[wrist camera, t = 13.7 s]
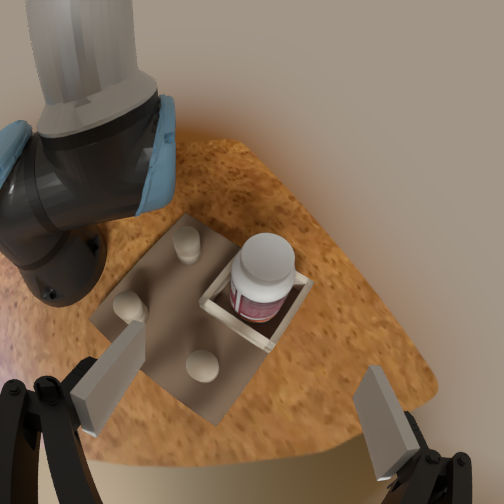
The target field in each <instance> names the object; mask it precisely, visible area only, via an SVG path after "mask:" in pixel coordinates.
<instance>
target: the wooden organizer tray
mask: <svg viewBox="0 0 504 504" xmlns="http://www.w3.org/2000/svg"><path fill="white" fill-rule="evenodd" d="M242 247H243V246H242ZM241 250H242V248H241V247H239V246H238V245H236V244H235V243H233V242H231V241H230V240H228V239H227V238H225V237H223V236H222V235H220V234H219V233H217V232H215V231H214V230H212V229H211V228H209V227H208V226H206V225H204V224H203V223H201V222H200V221H198V220H196V219H195V218H193V217H192V216H190V215H188V214H187V213H185V214H184V215H183V216H182V217H181V218H180V219H179V220H178V221H177V222H176V223H175V224H174V225H173V226H172V227H171V228H170V229H169V230H168V231H167V232H166V233H165V234H164V235H163V236H162V237H161V238H160V239H159V240H158V241H157V242H156V243H155V244H154V245H153V246H152V247H151V249H150V250H149V251H148V252H147V253H146V254H145V255H144V256H143V257H142V258H141V259H140V260H139V261H138V262H137V264H136V265H135V266H134V267H133V268H132V269H131V270H130V271H129V272H128V273H127V275H126V276H125V277H124V278H123V279H122V280H121V281H120V282H119V284H118V285H117V286H116V287H115V288H114V289H113V290H112V292H111V293H110V294H109V295H108V296H107V297H106V299H105V300H104V301H103V302H102V303H101V304H100V306H99V307H98V308H97V309H96V310H95V312H94V313H93V314H92V315H91V317H90V318H89V320H90V321H91V322H92V324H93V325H94V326H95V327H96V328H97V329H98V330H99V331H100V332H101V333H102V334H103V335H104V336H105V337H106V338H107V339H108V340H109V341H110V342H111V343H113V342H114V341H115V340H116V338H117V337H118V336H119V335H120V334H121V333H122V332H123V331H124V329H125V328H126V327H127V326H128V325H129V324H130V323H131V322H132V321H133V320H136V321H139V322H142V323H145V362H144V363H143V365H142V366H141V368H140V370H142V371H143V372H144V373H145V374H146V375H147V376H149V377H150V378H151V379H152V380H153V381H155V382H156V383H157V384H158V385H160V386H161V387H162V388H163V389H165V390H166V391H167V392H168V393H170V394H171V395H172V396H174V397H175V398H176V399H178V400H179V401H180V402H182V403H183V404H184V405H186V406H187V407H188V408H190V409H191V410H193V411H194V412H195V413H197V414H198V415H200V416H201V417H203V418H204V419H206V420H207V421H209V422H210V423H212V424H213V425H215V426H217V425H218V423H219V422H220V421H221V419H222V418H223V417H224V415H225V414H226V413H227V411H228V410H229V409H230V407H231V406H232V405H233V403H234V402H235V401H236V399H237V398H238V396H239V395H240V394H241V392H242V391H243V390H244V388H245V387H246V385H247V384H248V383H249V381H250V380H251V378H252V377H253V375H254V374H255V373H256V371H257V370H258V368H259V367H260V365H261V364H262V362H263V361H264V359H265V358H266V356H267V355H268V354H269V353H270V352H271V351H272V349H273V348H274V346H275V345H276V343H277V342H278V340H279V339H280V337H281V336H282V334H283V333H284V331H285V329H286V328H287V326H288V325H289V323H290V322H291V320H292V318H293V317H294V315H295V314H296V312H297V310H298V309H299V307H300V306H301V304H302V302H303V301H304V299H305V297H306V296H307V294H308V292H309V291H310V289H311V287H312V286H313V284H314V282H313V281H312V280H310V279H308V278H307V277H305V276H304V275H302V274H300V273H299V272H297V271H296V276H295V281H294V284H293V286H292V288H291V290H290V292H289V294H288V295H287V297H286V299H285V301H284V303H283V304H282V306H281V308H280V309H279V311H278V312H277V314H276V315H275V316H274V317H273V318H271V319H270V320H268V321H265V322H262V323H252V322H248V321H245V320H243V319H242V318H240V317H239V316H238V315H237V314H236V313H235V312H234V310H233V308H232V306H231V302H230V285H231V269H232V264H233V261H234V258H235V257H236V255H237V254H238V253H239V252H240V251H241Z"/></svg>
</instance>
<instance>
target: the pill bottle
mask: <svg viewBox="0 0 504 504" xmlns="http://www.w3.org/2000/svg"><path fill="white" fill-rule="evenodd" d="M294 262H295V255H294V251H293V249H292V247H291V245H290V244H289V243H288V242H287V241H286V240H285V239H284V238H282V237H281V236H279V235H276V234H272V233H260V234H256V235H254V236H252V237H250V238H249V239H248V240H247V241H246V242H245V244H244V245H243V247H242V250H241V251H240V252H239V253H238V254H237V255H236V257H235V258H234V261H233V264H232V269H231V285H230V302H231V306H232V308H233V310H234V312H235V313H236V314H237V315H238V316H239V317H240V318H242V319H243V320H245V321H248V322H252V323H262V322H265V321H268V320H270V319H271V318H273V317H274V316H275V315H276V314H277V312H278V311H279V309H280V308H281V306H282V304H283V303H284V301H285V299H286V297H287V295H288V294H289V292H290V290H291V288H292V286H293V284H294V281H295V276H296V270H295V265H294Z"/></svg>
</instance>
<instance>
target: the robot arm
mask: <svg viewBox="0 0 504 504" xmlns="http://www.w3.org/2000/svg"><path fill="white" fill-rule="evenodd" d="M26 10H27V19H28V27H29V33H30V39H31V45H32V50H33V55H34V59H35V64H36V68H37V73H38V77H39V80H40V84H41V88H42V91H43V95H44V98H45V102H46V103H45V107H44V109H43V111H42V114H41V116H40V118H39V120H38V123H37V130H38V132H35V133H33V132H32V127H31V125H29V124H28V123H27V122H26V121H24V120H18V121H15V122H13V123H11V124H9V125H8V126H6V127H5V128H4V129H2V130H1V131H0V252H1V253H2V254H3V255H5V256H6V257H7V258H8V259H9V260H10V261H11V262H12V263H13V264H14V265H16V266H17V267H18V269H19V271H20V273H21V275H22V277H23V279H24V281H25V283H26V285H27V286H28V288H29V290H30V291H31V293H32V294H33V295H34V296H35V297H36V298H38V299H39V300H41V301H42V302H43V303H45V304H47V305H49V306H52V307H65V306H69V305H72V304H74V303H76V302H78V301H79V300H81V299H82V298H83V297H85V296H86V295H87V294H88V293H89V292H90V291H91V290H92V288H93V287H94V286H95V284H96V283H97V281H98V279H99V278H100V276H101V273H102V271H103V268H104V265H105V260H106V245H105V241H104V238H103V236H102V234H101V232H100V231H99V229H98V227H97V226H96V225H95V224H98V223H103V222H107V221H112V220H117V219H122V218H127V217H132V216H134V217H137V216H139V215H141V214H142V213H145V212H149V211H153V210H157V209H161V208H163V207H165V206H166V205H167V204H169V203H170V202H171V200H172V199H173V196H174V192H175V180H176V143H175V127H176V122H175V103H174V99H173V98H172V97H171V96H165V95H164V94H163V95H159V97H158V91H157V83H156V80H155V79H154V78H153V77H151V76H149V75H148V74H146V73H144V72H143V71H141V70H139V68H138V66H137V58H136V48H135V37H134V25H133V9H132V0H26ZM144 362H145V323H142V322H139V321H136V320H133V321H132V322H131V323H130V324H129V325H128V326H127V327H126V328H125V329H124V331H123V332H122V333H121V334H120V335H119V336H118V337H117V338H116V340H115V341H114V342H113V343H112V344H111V345H110V346H109V347H108V349H107V350H106V351H105V352H104V353H103V354H102V355H101V357H100V358H99V359H98V360H97V359H95V358H92V357H90V356H89V357H87V358H85V359H83V360H81V361H80V362H79V363H78V365H77V366H76V368H74V369H73V370H72V372H70V373H69V374H68V375H67V377H66V378H65V379H64V380H63V381H62V382H61V383H60V382H59V381H58V380H57V379H56V378H54V377H52V376H42V377H40V378H38V379H37V380H36V381H35V382H34V386H33V387H34V390H35V392H34V391H30V390H27V389H26V387H25V385H24V383H23V382H22V381H20V380H17V379H12V380H9V381H7V382H6V383H5V384H4V386H3V388H2V391H1V394H0V504H38V462H39V449H40V439H41V432H42V433H43V439H44V445H45V450H46V455H47V460H48V464H49V468H50V473H51V477H52V480H53V484H54V487H55V490H56V494H57V497H58V500H59V503H60V504H103V503H102V501H101V498H100V496H99V493H98V491H97V489H96V486H95V483H94V481H93V478H92V475H91V473H90V470H89V467H88V464H87V461H86V458H85V455H84V451H83V448H82V445H81V441H80V438H79V434H78V431H77V429H78V427H79V426H80V424H81V427H82V429H83V431H84V432H86V433H88V434H90V435H92V436H94V437H98V435H99V434H100V432H101V430H102V429H103V427H104V425H105V424H106V422H107V420H108V419H109V417H110V416H111V414H112V412H113V411H114V409H115V407H116V406H117V404H118V403H119V401H120V399H121V398H122V396H123V395H124V393H125V391H126V390H127V388H128V387H129V385H130V384H131V382H132V380H133V379H134V377H135V376H136V374H137V373H138V371H139V369H140V368H141V366H142V365H143V363H144ZM353 401H354V404H355V407H356V410H357V413H358V417H359V420H360V423H361V426H362V430H363V433H364V436H365V440H366V443H367V446H368V450H369V453H370V457H371V460H372V464H373V467H374V471H375V475H376V478H377V481H379V480H386V479H390V478H391V477H392V476H393V475H394V474H395V473H397V477H398V478H397V479H396V480H394V481H393V482H392V483H391V484H390V485H389V486H388V487H387V489H388V488H390V487H391V488H390V490H389V492H388V493H387V495H386V497H385V499H384V500H383V502H382V503H381V504H472V466H471V459H470V457H469V456H468V455H467V454H466V453H463V452H458V453H456V454H455V455H454V456H453V457H452V458H444V457H441V455H440V454H439V453H438V452H437V451H435V450H431V449H429V448H428V446H427V444H426V441H425V440H424V438H423V435H422V433H421V431H419V430H420V429H419V427H418V426H417V423H416V421H415V419H414V417H413V416H412V415H411V414H410V413H409V412H408V411H405V412H403V410H402V408H401V406H400V404H399V402H398V400H397V398H396V396H395V394H394V392H393V390H392V388H391V386H390V384H389V382H388V380H387V378H386V376H385V374H384V372H383V370H382V368H381V366H375V365H369V367H368V369H367V371H366V373H365V375H364V377H363V379H362V381H361V383H360V385H359V387H358V389H357V391H356V392H355V394H354V396H353Z"/></svg>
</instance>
